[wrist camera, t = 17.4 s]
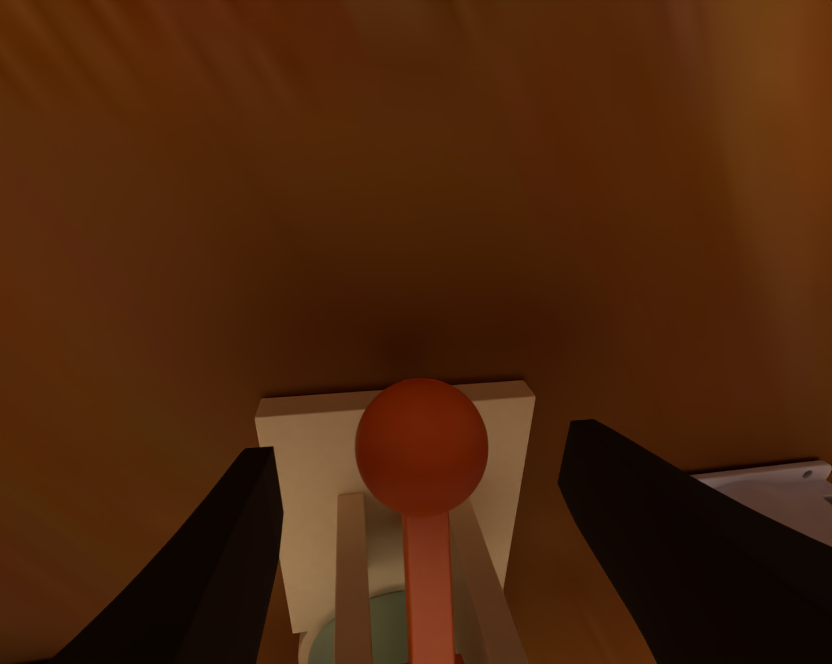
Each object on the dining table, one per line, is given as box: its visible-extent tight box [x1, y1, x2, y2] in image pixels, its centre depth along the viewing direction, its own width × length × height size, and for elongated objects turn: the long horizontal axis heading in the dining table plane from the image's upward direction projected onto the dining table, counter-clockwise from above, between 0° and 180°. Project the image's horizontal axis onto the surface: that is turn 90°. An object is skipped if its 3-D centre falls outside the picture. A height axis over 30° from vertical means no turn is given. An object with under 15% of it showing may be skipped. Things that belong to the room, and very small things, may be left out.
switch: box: [355, 378, 488, 664], centre depth 10 cm, size 11×3×3 cm, turn 179°
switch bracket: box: [255, 380, 536, 664], centre depth 13 cm, size 12×10×10 cm
